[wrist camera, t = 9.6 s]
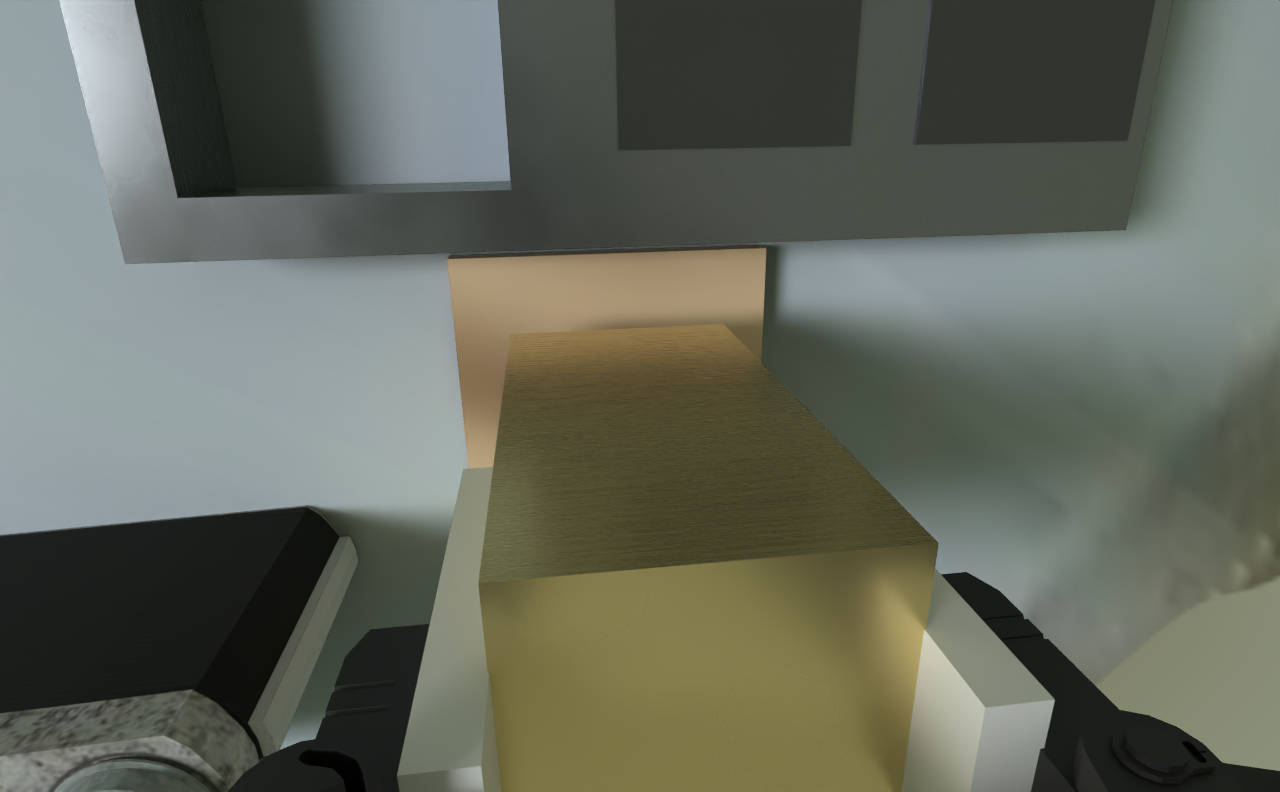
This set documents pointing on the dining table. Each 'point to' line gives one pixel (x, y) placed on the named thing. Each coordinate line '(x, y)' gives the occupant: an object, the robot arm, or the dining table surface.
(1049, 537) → the dining table surface
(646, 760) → the block
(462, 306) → the cork mat
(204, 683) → the camera
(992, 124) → the grey slotted tray
